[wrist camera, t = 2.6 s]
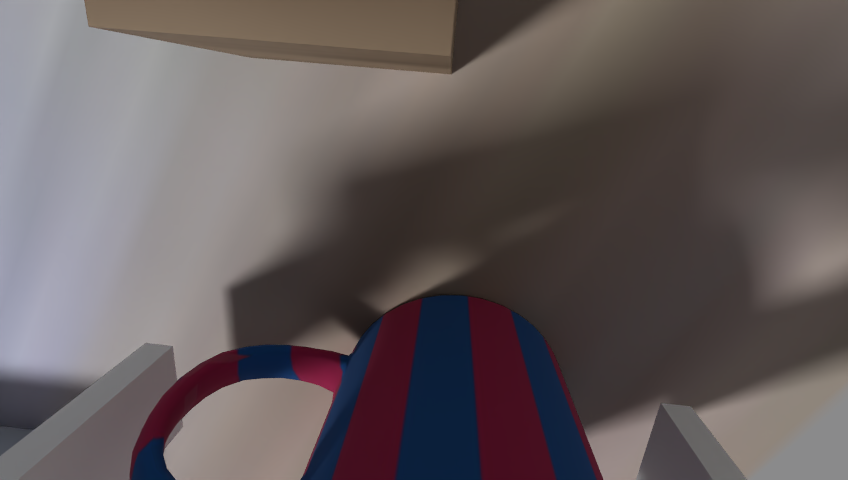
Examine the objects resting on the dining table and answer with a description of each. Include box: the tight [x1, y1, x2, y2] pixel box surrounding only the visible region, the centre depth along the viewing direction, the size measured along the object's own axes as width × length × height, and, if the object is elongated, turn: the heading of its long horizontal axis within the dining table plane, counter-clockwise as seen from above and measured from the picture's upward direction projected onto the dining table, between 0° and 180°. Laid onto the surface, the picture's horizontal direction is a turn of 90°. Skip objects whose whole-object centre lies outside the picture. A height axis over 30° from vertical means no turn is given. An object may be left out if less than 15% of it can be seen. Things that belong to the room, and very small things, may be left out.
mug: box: [129, 295, 603, 480], centre depth 10 cm, size 7×10×7 cm
